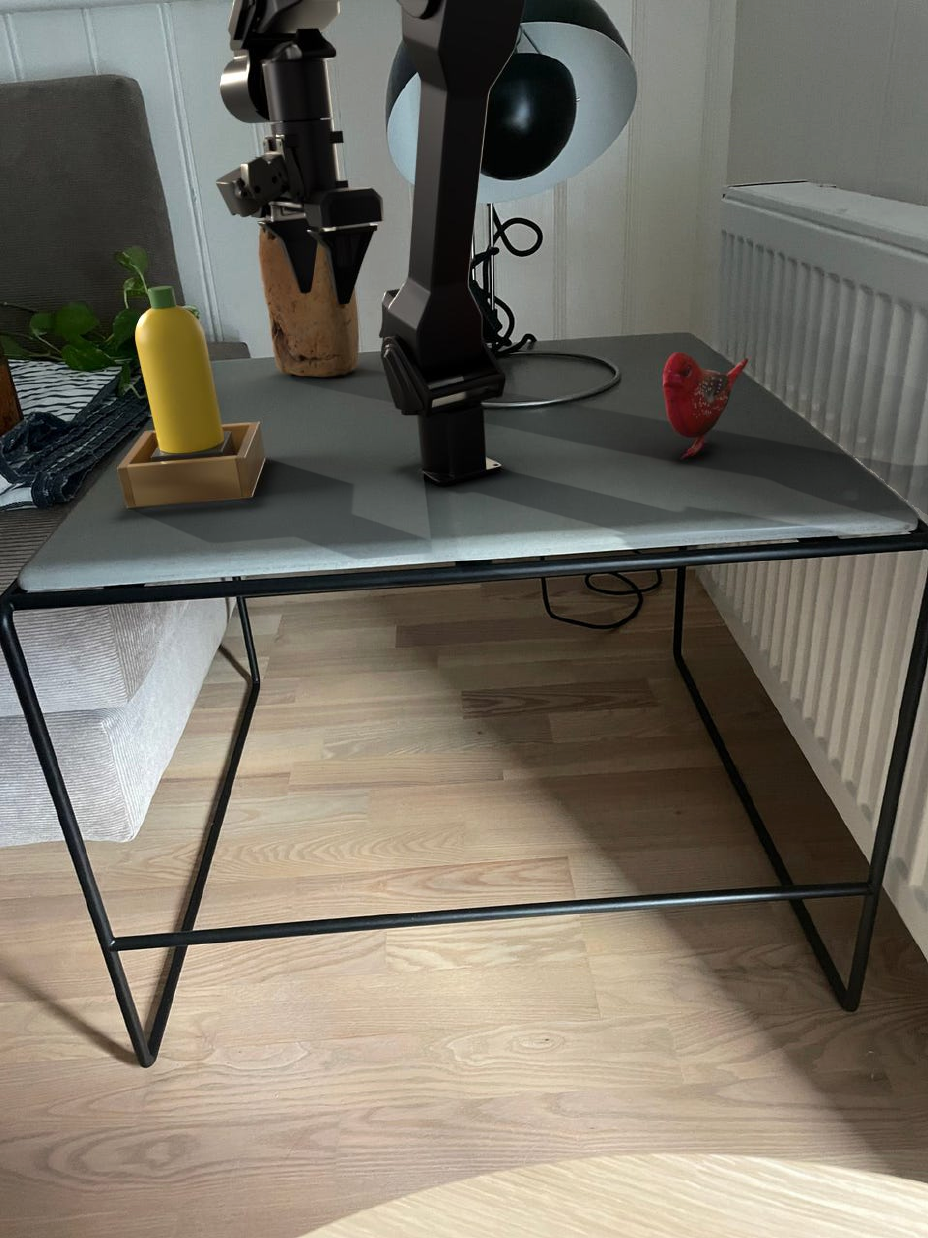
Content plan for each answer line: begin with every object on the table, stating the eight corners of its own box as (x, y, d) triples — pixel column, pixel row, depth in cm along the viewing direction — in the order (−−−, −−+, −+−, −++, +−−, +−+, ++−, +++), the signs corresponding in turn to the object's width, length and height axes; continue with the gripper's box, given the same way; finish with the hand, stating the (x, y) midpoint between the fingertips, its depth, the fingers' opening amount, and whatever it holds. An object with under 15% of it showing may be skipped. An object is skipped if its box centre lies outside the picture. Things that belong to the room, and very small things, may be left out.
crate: (266, 465, 90) (259, 421, 88) (253, 505, 81) (244, 457, 79) (155, 474, 90) (144, 430, 87) (128, 516, 80) (116, 467, 78)
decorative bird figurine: (644, 474, 81) (648, 357, 77) (728, 419, 93) (736, 315, 89) (675, 479, 80) (680, 360, 75) (757, 423, 92) (766, 317, 87)
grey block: (238, 467, 87) (231, 430, 86) (228, 489, 82) (221, 451, 80) (172, 472, 87) (164, 435, 86) (159, 495, 82) (150, 456, 80)
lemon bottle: (232, 432, 85) (204, 280, 79) (212, 452, 80) (180, 292, 74) (173, 434, 86) (140, 283, 80) (149, 454, 81) (113, 295, 75)
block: (368, 365, 124) (350, 199, 114) (349, 380, 117) (328, 205, 108) (291, 365, 126) (267, 203, 117) (268, 380, 120) (241, 209, 110)
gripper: (184, 128, 90) (215, 298, 97) (254, 124, 75) (283, 324, 83) (293, 120, 95) (314, 283, 102) (378, 115, 80) (395, 305, 88)
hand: (323, 298), depth 94 cm, fingers open, 9 cm apart
